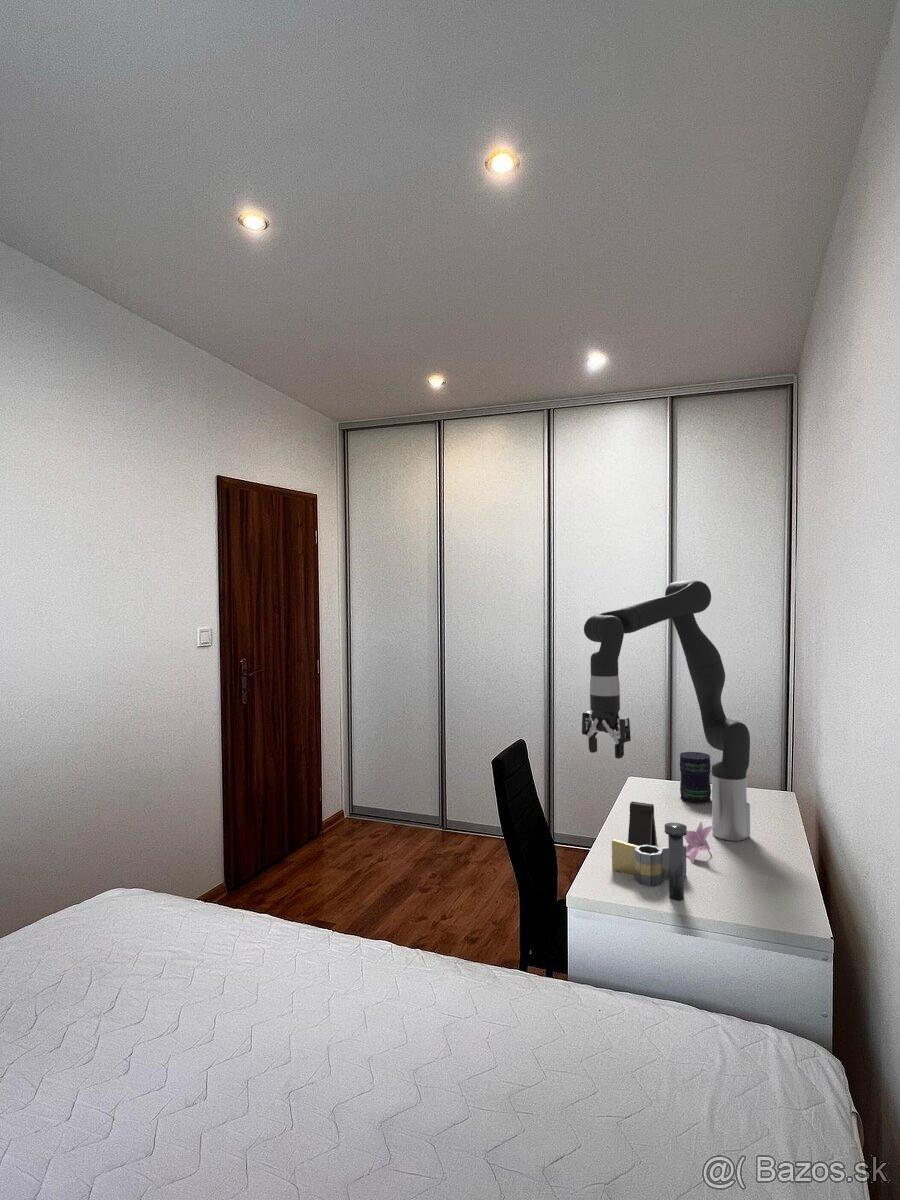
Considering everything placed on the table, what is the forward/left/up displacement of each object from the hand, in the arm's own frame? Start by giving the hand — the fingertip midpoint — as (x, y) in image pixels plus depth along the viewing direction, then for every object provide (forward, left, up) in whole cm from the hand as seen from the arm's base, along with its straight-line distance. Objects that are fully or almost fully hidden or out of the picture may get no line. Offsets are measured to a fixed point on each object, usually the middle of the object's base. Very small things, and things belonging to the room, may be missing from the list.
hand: (605, 755), depth 174 cm
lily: (-25, +3, -29) cm, 38 cm away
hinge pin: (-6, +22, -28) cm, 36 cm away
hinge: (-7, +9, -28) cm, 31 cm away
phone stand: (-15, -8, -28) cm, 33 cm away
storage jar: (-54, -40, -28) cm, 73 cm away
